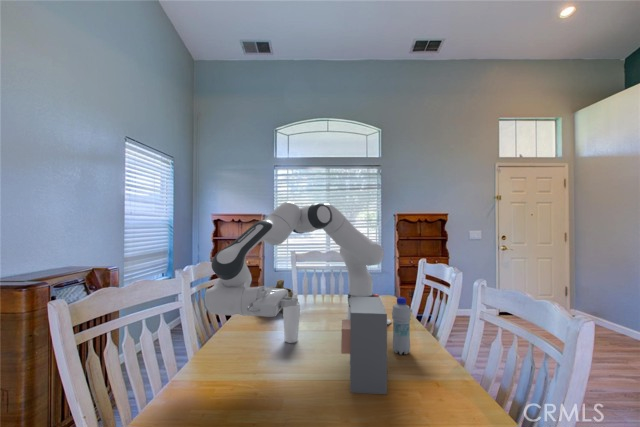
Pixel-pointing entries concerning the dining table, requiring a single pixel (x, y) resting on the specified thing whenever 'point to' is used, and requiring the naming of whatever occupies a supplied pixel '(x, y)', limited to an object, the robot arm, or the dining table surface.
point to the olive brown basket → (280, 285)
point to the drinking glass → (291, 323)
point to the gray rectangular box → (368, 345)
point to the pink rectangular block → (345, 337)
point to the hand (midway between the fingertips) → (297, 301)
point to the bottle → (401, 326)
